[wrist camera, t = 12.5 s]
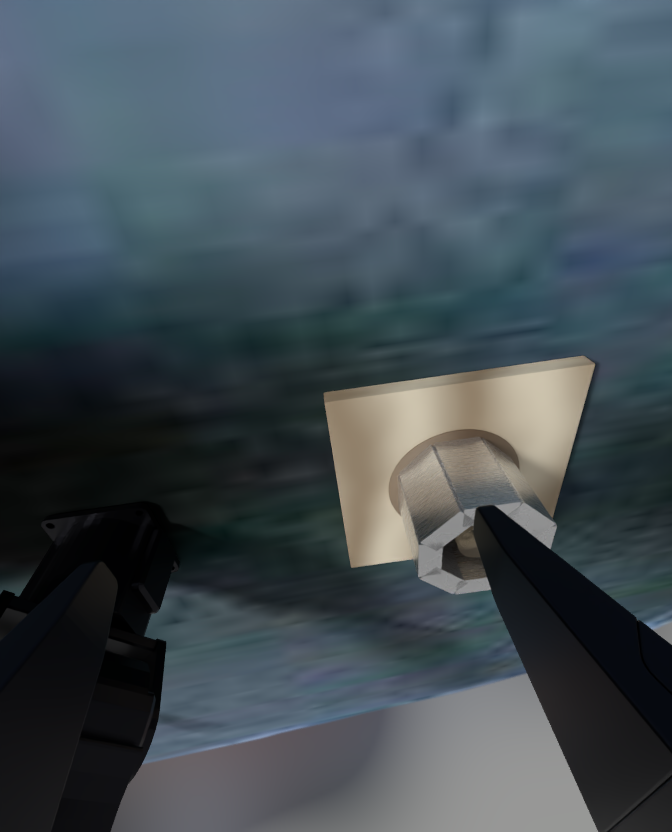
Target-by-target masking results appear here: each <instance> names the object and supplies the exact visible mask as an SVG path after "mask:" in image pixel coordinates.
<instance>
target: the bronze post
mask: <svg viewBox="0 0 672 832" xmlns="http://www.w3.org/2000/svg"><path fill="white" fill-rule="evenodd" d="M454 539H455V541H456V544H457V546H458V549H459V551H460V552H461V553H462V554H463V555H465V556H467V557H473V558H475V557H480V554H479V551H478V548H477V545H476V542H475V539H474V534H473V526H470V527H469V528H467V529H466V530H465V531H463V532H462V533H461V534H459V535H458V536H457V537H455V538H454Z"/></svg>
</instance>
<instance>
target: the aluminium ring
mask: <svg viewBox="0 0 672 832" xmlns="http://www.w3.org/2000/svg"><path fill="white" fill-rule="evenodd" d="M485 505H494V506H496V507H498V508H499V509H500V510H501V511H503V512H504V513H505V514H506V515H508V516H509V517H510V518H512V519H513V520H514V521H515V522H517V523H518V524H519V525H520V526H522V527H523V528H524V529H525V530H527V531H528V532H529V533H530V534H532V535H533V536H534V537H535V538H537V539H538V540H539V541H541V542H542V543H543V544H544V545H546V546H547V547H548V548H549V549H550V548H551V545H552V541H553V538H554V535H555V531H556V528H557V526H556V523H555V521H554V520H553V519H552V517H551V516H550V514H549V513H548V511H547V510H546V508H545V507H544V505H543V504H542V503H541V501H540V500H539V498H538V497H537V495H536V494H535V492H534V491H533V489H532V488H531V487H530V485H529V484H528V482H527V481H526V479H525V478H524V476H523V475H522V473H521V472H520V471H519V469H518V468H517V466H516V465H515V463H514V462H513V460H512V459H511V458H510V457H509V456H508V455H506V454H505V453H504V452H502V451H501V450H499V449H498V448H497V447H495V446H494V445H493V444H491V443H490V442H489V441H487V440H486V439H485V438H483V437H482V438H480V437H473V438H465V439H458V440H451V441H443V442H436V443H434V446H432V445H431V444H430V445H429V446H428V447H427V448H426V449H425V450H424V451H422V452H421V453H420V454H419V455H418V456H417V457H416V458H415V459H414V460H412V461H411V462H410V463H409V464H408V465H407V466H406V467H405V468H404V469H403V470H401V471H400V472H399V475H398V506H399V510H400V513H401V517H402V520H403V524H404V527H405V531H406V535H407V538H408V542H409V545H410V549H411V553H412V556H413V560H414V563H415V567H416V570H417V574H418V577H419V578H420V579H421V580H423V581H425V582H428V583H430V584H432V585H434V586H436V587H438V588H441V589H443V590H445V591H447V592H449V593H451V594H453V593H455V594H462V593H470V592H477V591H484V590H491V588H490V585H489V582H488V579H487V576H486V573H485V570H484V567H483V563H482V560H481V557H475V558H473V557H467V556H465V555H463V554H462V553H461V552H460V551H459V549H458V546H457V544H456V541H455V539H454V538H455V537H457V536H458V535H459V534H461V533H462V532H463V531H465V530H466V529H467V528H469V527H470V526H473V525H474V516H475V510H476V508H477V507H478V506H485Z"/></svg>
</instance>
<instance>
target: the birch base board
mask: <svg viewBox="0 0 672 832" xmlns="http://www.w3.org/2000/svg"><path fill="white" fill-rule="evenodd" d="M594 367H595V363H593V362H592V361H590V360H589V359H588V358H586V357H585V356H577V357H570V358H563V359H556V360H549V361H542V362H535V363H528V364H521V365H514V366H507V367H500V368H493V369H486V370H479V371H472V372H465V373H458V374H451V375H444V376H437V377H430V378H423V379H416V380H409V381H402V382H395V383H388V384H381V385H374V386H367V387H360V388H353V389H346V390H339V391H332V392H325V393H324V401H325V408H326V414H327V421H328V427H329V433H330V439H331V445H332V452H333V458H334V464H335V470H336V477H337V483H338V489H339V495H340V502H341V508H342V514H343V520H344V527H345V533H346V539H347V545H348V552H349V558H350V564H351V568H353V567H360V566H367V565H375V564H382V563H389V562H396V561H403V560H410V559H413V556H412V553H411V549H410V545H409V542H408V538H407V535H406V531H405V527H404V524H403V520H402V517H401V513H400V510H399V506H398V475H399V472H400V471H401V470H403V469H404V468H405V467H406V466H407V465H408V464H409V463H410V462H411V461H412V460H414V459H415V458H416V457H417V456H418V455H419V454H420V453H421V452H422V451H424V450H425V449H426V448H427V447H428V446H429V445H430V444H431V445H432V446H434V443H436V442H443V441H451V440H458V439H465V438H473V437H480V438H482V437H483V438H485V439H486V440H487V441H489V442H490V443H491V444H493V445H494V446H495V447H497V448H498V449H499V450H501V451H502V452H504V453H505V454H506V455H508V456H509V457H510V458H511V459H512V460H513V462H514V463H515V465H516V466H517V468H518V469H519V471H520V472H521V473H522V475H523V476H524V478H525V479H526V481H527V482H528V484H529V485H530V487H531V488H532V489H533V491H534V492H535V494H536V495H537V497H538V498H539V500H540V501H541V503H542V504H543V505H544V507H545V508H546V510H547V511H548V513H549V514H550V516H551V517H552V518H553V515H554V511H555V507H556V504H557V500H558V497H559V493H560V489H561V486H562V482H563V479H564V475H565V471H566V468H567V464H568V461H569V457H570V453H571V450H572V446H573V443H574V439H575V435H576V432H577V428H578V424H579V421H580V417H581V414H582V410H583V406H584V403H585V399H586V396H587V392H588V388H589V385H590V381H591V378H592V374H593V370H594Z"/></svg>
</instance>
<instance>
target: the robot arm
mask: <svg viewBox="0 0 672 832" xmlns="http://www.w3.org/2000/svg"><path fill="white" fill-rule="evenodd" d="M41 526H42V527H43V529H44V530H45V531H46V532H47V534H48V535H49V536H50V537H51V539H52V540H53V541H54V542H53V544H52V545H51V547H50V548H49V550H48V552H47V553H46V555H45V556H44V558H43V560H42V561H41V563H40V564H39V566H38V568H37V569H36V571H35V572H34V574H33V575H32V577H31V579H30V580H29V582H28V583H27V585H26V587H25V588H24V590H23V591H22V593H21V595H20V596H19V597H17V596H14V595H15V593H12V592H9V591H5V590H3V592H2V593H1V594H0V832H110V831H111V828H112V825H113V822H114V819H115V816H116V813H117V811H118V808H119V805H120V802H121V800H122V797H123V795H124V792H125V790H126V787H127V785H128V784H129V782H130V781H131V780H132V779H133V778H134V776H135V775H136V773H137V772H138V770H139V768H140V767H141V765H142V763H143V761H144V759H145V757H146V755H147V752H148V750H149V747H150V745H151V742H152V739H153V736H154V733H155V730H156V726H157V722H158V718H159V711H160V702H161V692H162V682H163V672H164V662H165V652H166V641H163V640H160V639H156V640H154V639H151V638H148V637H144V635H145V632H146V629H147V626H148V623H149V620H150V616H151V614H153V613H157V612H158V611H159V609H160V607H161V604H162V601H163V597H164V594H165V591H166V587H167V584H168V581H169V577H170V574H171V573H172V572H176V571H178V569H179V566H180V562H179V560H178V558H177V556H176V552H175V551H174V549H173V547H172V545H171V543H170V542H169V540H168V538H167V536H166V534H165V532H164V531H163V530H162V529H161V527H160V525H159V524H158V522H157V520H156V518H155V516H154V514H153V513H152V511H151V509H150V507H149V506H148V505H146V504H144V503H134V504H127V505H120V506H113V507H105V508H98V509H91V510H84V511H77V512H70V513H63V514H56V515H49V516H47V517H45V519H44V520H43V522H42V523H41ZM473 534H474V539H475V542H476V545H477V548H478V551H479V554H480V557H481V560H482V563H483V567H484V570H485V573H486V576H487V579H488V582H489V585H490V588H491V591H492V594H493V597H494V600H495V602H496V605H497V607H498V609H499V612H500V614H501V616H502V618H503V621H504V623H505V625H506V627H507V629H508V632H509V634H510V636H511V638H512V641H513V643H514V645H515V647H516V650H517V652H518V654H519V656H520V658H521V661H522V663H523V665H524V667H525V670H526V672H527V674H528V676H529V678H530V681H531V683H532V685H533V687H534V690H535V692H536V694H537V696H538V698H539V701H540V703H541V705H542V707H543V710H544V712H545V714H546V716H547V718H548V720H549V723H550V725H551V727H552V730H553V732H554V734H555V736H556V738H557V741H558V743H559V745H560V747H561V749H562V752H563V754H564V756H565V759H566V760H567V763H568V765H569V767H570V770H571V772H572V774H573V776H574V779H575V781H576V783H577V785H578V787H579V790H580V792H581V794H582V796H583V799H584V801H585V803H586V805H587V808H588V810H589V812H590V814H591V816H592V819H593V821H594V823H595V825H596V827H597V830H598V832H672V645H671V644H670V643H668V642H667V641H666V640H665V639H663V638H662V637H661V636H659V635H658V634H657V633H656V632H654V631H653V630H652V629H650V628H649V627H648V626H647V625H645V624H644V623H643V622H642V621H640V620H638V621H637V618H636V617H635V616H634V615H633V614H631V613H630V612H629V611H628V610H626V609H625V608H624V607H623V606H621V605H620V604H619V603H617V602H616V601H615V600H614V599H612V598H611V597H610V596H609V595H607V594H606V593H605V592H604V591H602V590H601V589H600V588H599V587H597V586H596V585H595V584H593V583H592V582H591V581H590V580H588V579H587V578H586V577H585V576H583V575H582V574H581V573H580V572H578V571H577V570H576V569H575V568H573V567H572V566H571V565H570V564H568V563H567V562H566V561H564V560H563V559H562V558H561V557H559V556H558V555H557V554H556V553H554V552H553V551H552V550H551V549H549V548H548V547H547V546H546V545H544V544H543V543H542V542H541V541H539V540H538V539H537V538H535V537H534V536H533V535H532V534H530V533H529V532H528V531H527V530H525V529H524V528H523V527H522V526H520V525H519V524H518V523H517V522H515V521H514V520H513V519H512V518H510V517H509V516H508V515H506V514H505V513H504V512H503V511H501V510H500V509H499V508H498V507H496V506H494V505H485V506H478V507H477V508H476V510H475V516H474V525H473Z"/></svg>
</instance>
